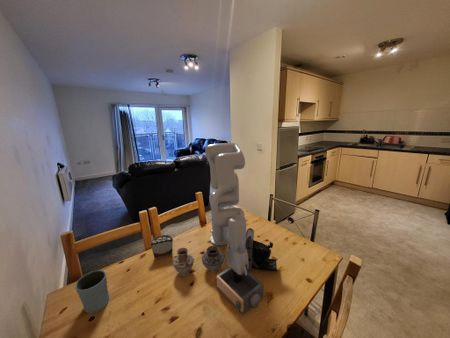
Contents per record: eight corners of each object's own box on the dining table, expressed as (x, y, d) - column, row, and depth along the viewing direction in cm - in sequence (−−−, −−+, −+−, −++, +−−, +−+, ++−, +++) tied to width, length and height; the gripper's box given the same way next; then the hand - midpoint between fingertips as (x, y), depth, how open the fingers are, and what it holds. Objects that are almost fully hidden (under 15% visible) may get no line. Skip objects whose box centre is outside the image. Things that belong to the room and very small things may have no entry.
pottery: (175, 265, 98) (172, 245, 95) (223, 258, 102) (222, 239, 99) (172, 283, 87) (170, 260, 85) (226, 275, 91) (226, 253, 88)
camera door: (215, 287, 83) (214, 277, 82) (218, 285, 84) (218, 275, 83) (240, 314, 71) (240, 303, 70) (243, 311, 72) (243, 300, 71)
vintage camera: (276, 280, 88) (280, 242, 83) (243, 274, 91) (244, 237, 86) (275, 265, 97) (278, 230, 93) (245, 260, 100) (246, 226, 96)
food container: (174, 247, 112) (172, 232, 110) (175, 254, 106) (173, 238, 104) (152, 252, 108) (149, 236, 106) (151, 259, 103) (149, 243, 100)
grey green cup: (106, 311, 75) (101, 286, 72) (76, 319, 72) (69, 293, 69) (113, 290, 84) (108, 267, 81) (87, 296, 82) (81, 272, 79)
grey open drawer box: (216, 288, 84) (216, 274, 82) (237, 273, 92) (237, 260, 90) (245, 319, 70) (245, 303, 69) (267, 299, 78) (267, 285, 76)
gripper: (219, 239, 83) (220, 275, 88) (243, 257, 72) (243, 297, 77) (232, 233, 88) (232, 267, 92) (256, 249, 77) (256, 286, 81)
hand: (237, 280), depth 84 cm, fingers closed
